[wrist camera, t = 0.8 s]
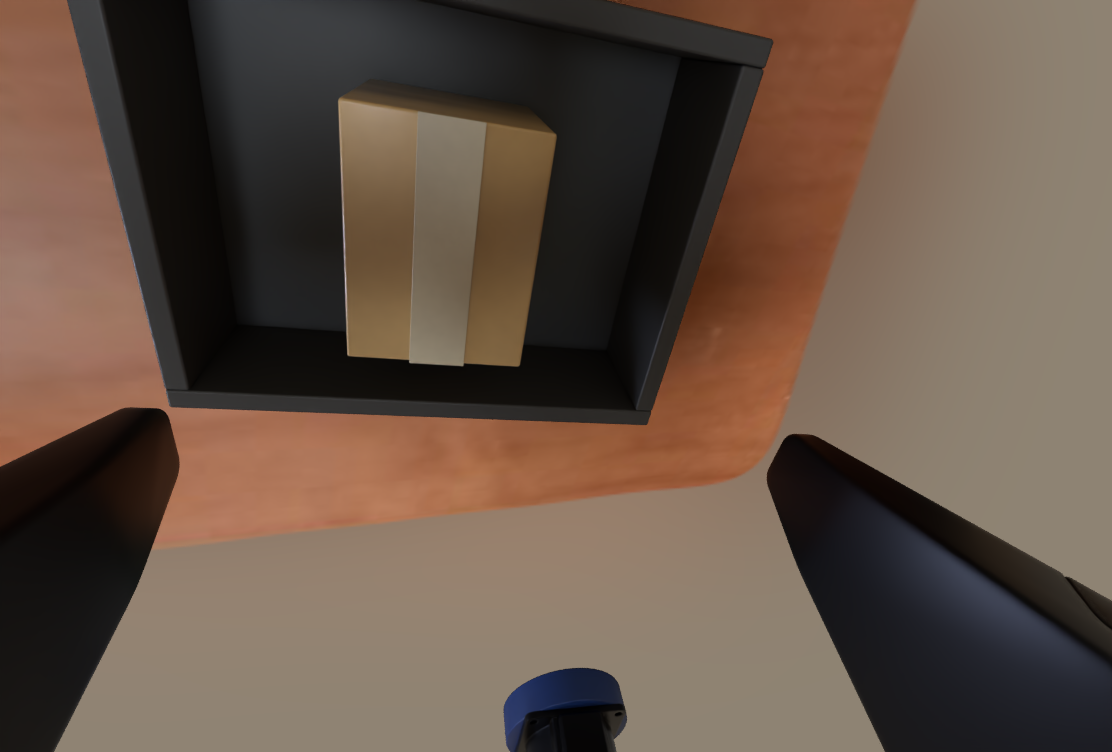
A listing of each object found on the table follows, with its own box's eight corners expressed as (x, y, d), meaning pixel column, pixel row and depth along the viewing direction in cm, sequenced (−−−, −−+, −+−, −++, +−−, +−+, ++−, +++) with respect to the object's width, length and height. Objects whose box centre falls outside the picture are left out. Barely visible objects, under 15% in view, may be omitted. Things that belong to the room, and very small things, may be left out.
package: (504, 293, 19) (520, 369, 14) (370, 280, 18) (346, 359, 13) (529, 106, 16) (558, 134, 11) (369, 77, 15) (336, 97, 10)
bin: (613, 357, 22) (647, 425, 18) (225, 331, 18) (169, 408, 15) (699, 37, 16) (775, 39, 12) (155, -87, 13) (30, -136, 9)
